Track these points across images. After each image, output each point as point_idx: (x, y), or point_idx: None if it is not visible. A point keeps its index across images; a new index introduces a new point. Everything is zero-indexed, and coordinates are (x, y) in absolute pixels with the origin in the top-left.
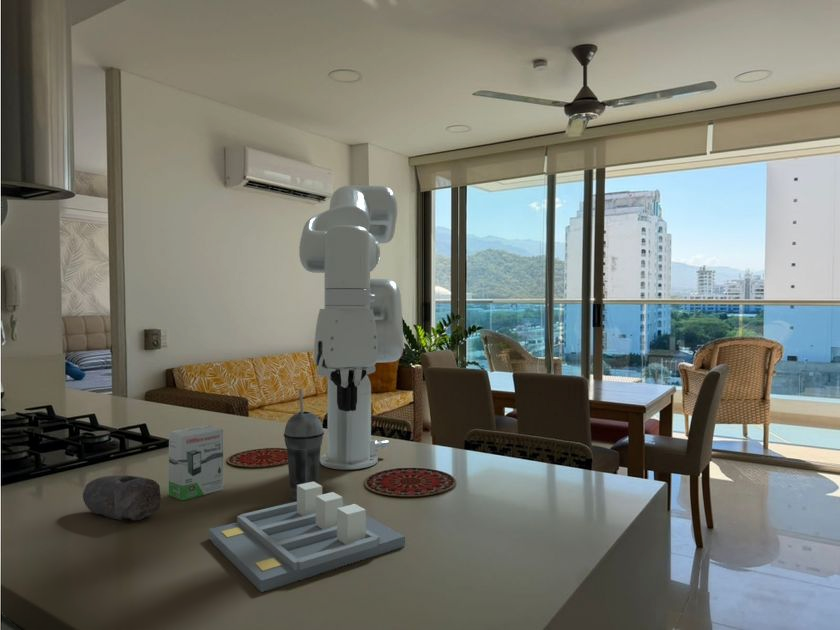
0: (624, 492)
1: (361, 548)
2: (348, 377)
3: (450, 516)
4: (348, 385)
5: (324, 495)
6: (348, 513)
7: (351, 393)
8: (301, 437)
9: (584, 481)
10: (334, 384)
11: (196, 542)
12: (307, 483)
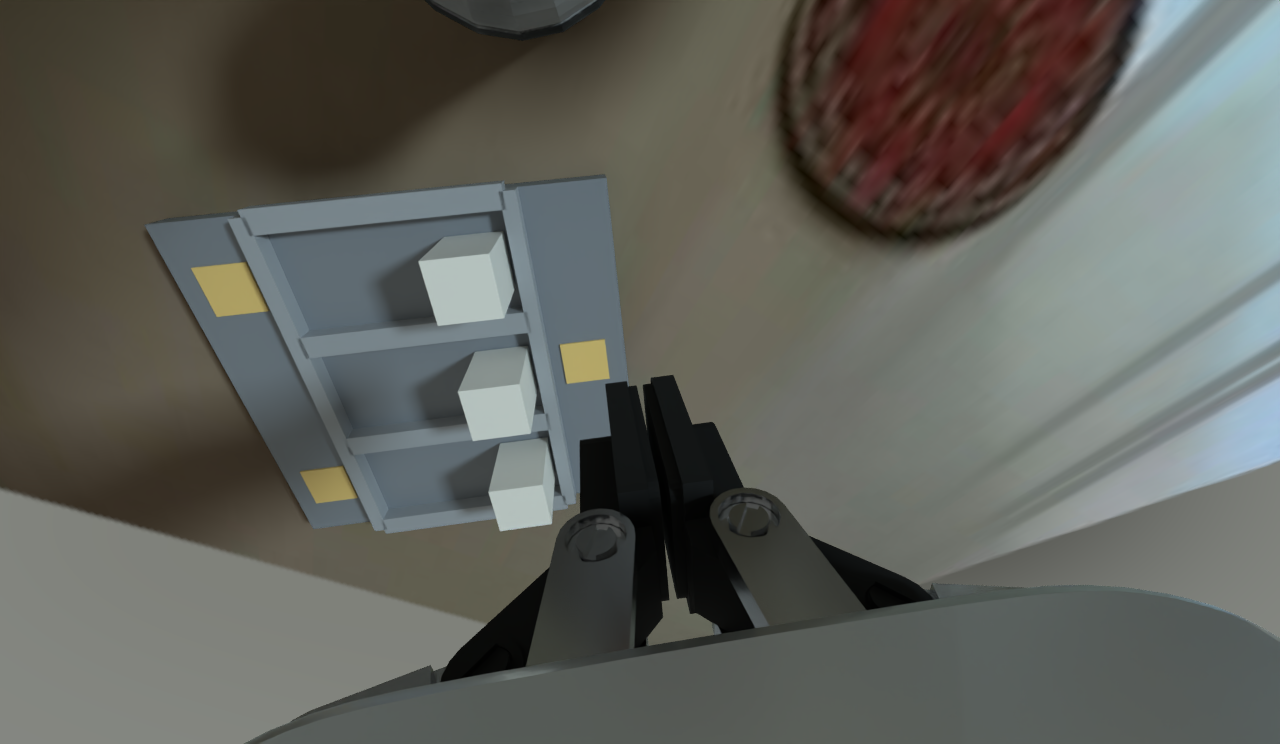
0: (1206, 449)
1: None
2: (735, 582)
3: (819, 389)
4: (687, 558)
5: (484, 399)
6: (503, 528)
7: (670, 558)
8: (447, 13)
9: (1253, 358)
10: (564, 529)
11: (130, 223)
12: (460, 264)
